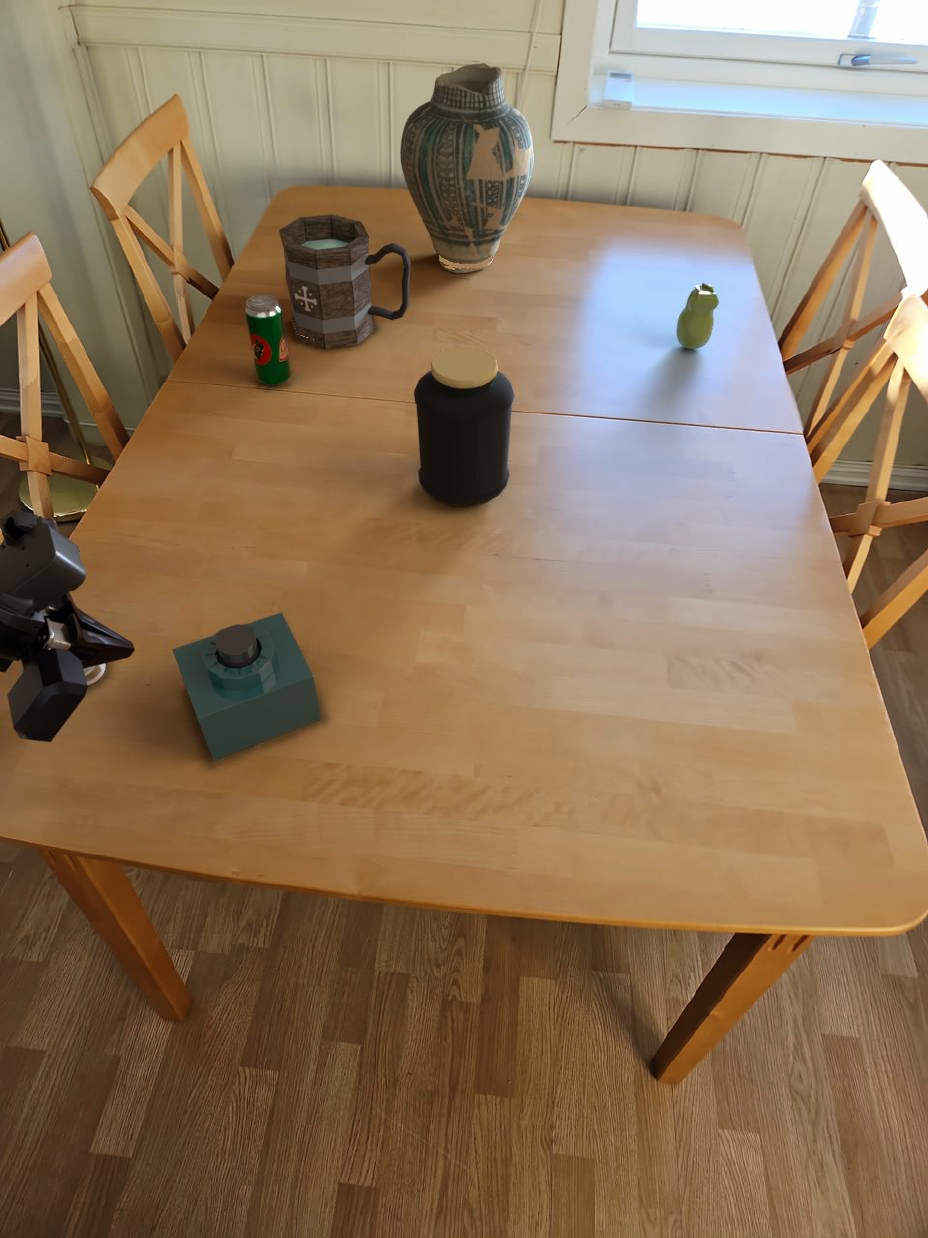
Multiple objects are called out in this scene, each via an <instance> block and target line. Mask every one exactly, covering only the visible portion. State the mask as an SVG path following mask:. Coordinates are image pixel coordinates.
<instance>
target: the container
mask: <svg viewBox="0 0 928 1238" xmlns="http://www.w3.org/2000/svg"><path fill="white" fill-rule="evenodd" d="M498 368H499V365H498V362H497V358H495V356H494V355H493V354H492V353H491V352H489V351H487V350H485V349H483V348H480V347H475V346H468V345H465V346H463V345H462V346H453V347H449V348H445V349H443V350H441V351H439V352H438V353H436V354H435V355H434V356H433V357H432V359H431V362H430V370H429V371H427V372H426V373H425V374H424V375H422V376H421V377H420V378H419V380H418V381H417V383H416V386H415V388H414V391H413V396H414V403H415V405H416V419H417V434H418V448H419V464H420V465H419V466H420V467H419V470H418V481H419V484H420V485H421V487H422V488H423V490H424V491H425V493H426V494H428V495H429V496H430V497H432V498H433V499H434V500H435V501H437V502H441V503H443V504H445V505H448V506H454V507H461V508H462V507H475V506H479V505H482V504H486V503H488V502H490V501H492V500H493V499H495V498H496V497H498V496H500V495H501V493H502V492H503V491H504V489H506V487H507V486H508V483H509V478H510V472H509V466H508V465H509V455H510V454H509V453H510V441H511V440H510V438H511V425H512V414H513V413H512V412H513V411H512V410H513V403H514V399H515V392H514V388H513V384H512V382H511V381H510V380H509V378H508V377H506V375H504V373H502V372H500V371H499V370H498Z"/></svg>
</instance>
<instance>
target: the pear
mask: <svg viewBox="0 0 928 1238" xmlns="http://www.w3.org/2000/svg"><path fill="white" fill-rule="evenodd" d="M719 304H720V300H719V298H718V294H717V293H716V291H715V288H714V286H712V285H711V284H709V283H705V282H702V283H701V285H695V287H694V289H692V291H691V292H690V294H689V295H688V296H687V299H686V303H685V307H684V308H683V309H682V310H681V312H680V313H679V316H678V319H677V321H676V331H675V332H676V339H677V341H678V343H679V344H680V345H681V346H682V347H683V348H686V349H689V350H698V349H700V348H702V347H704V346H705V345H706V344H707V343H708V342H709V340H710V339H711V336H712V333H713V330H714V323H715V319H714V311H715V309H717V308H718V306H719Z"/></svg>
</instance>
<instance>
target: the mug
mask: <svg viewBox="0 0 928 1238" xmlns="http://www.w3.org/2000/svg"><path fill="white" fill-rule="evenodd" d="M278 232H279V236H280V240H281V244H282V248H283V256H284V265H285V266H284V267H285V281H286V286H287V290H288V296H289V302H290V307H291V326H292V329H293V333H294V334H295V338H296V341H298V342H300V343H303V344H307V345H310V346H313V347H316V348H319V349H323V350H330V349H338V348H344V347H351V346H358V345H359V344H360V343H362V341H364V340H365V339H366V338H367V337H369V336H370V335H371V334H372V333H373V332H374V331H375V326H374V320H373V316H375V317H379V318H383V319H386V320H389V321H395V320H399V319H402V318H403V317H404V315H405V313H406V312H407V309H408V307H409V305H410V277H411V267H412V264H411V261H410V257H409V254H408V252H407V248H406V247H403V246H401V245H399V244H397V243H395V242H392V243H389V244H385V245H383V246H382V247H381V248H380V249H379V250H378V251H377V252H376V253H374V254H369V247H370V235H369V233H368V231H367V230H366V227H365V226H364V223H363V222H362V221H360V220H358V219H354V218H353V219H352V218H350V217H349V218H348V217H345V216H341V215H337V214H333V213H332V214H331V213H329V214H321V215H320V214H319V215H310V216H303V217H298V218H296V219H295V220H293V221H291V222H290V223H288V224H287V225H285V226H283V227H282V228H281V229H279V230H278ZM392 253H394V254H396V255H398V256H400V257H401V260H402V265H403V268H402V269H403V270H402V277H401V304H400V307H399V309H396V310H394V311H393V310H390V309H388V308H386V307H382V306H378V305H374V304H372V291H373V290H372V289H373V283H372V277H371V271H370V265H376V264H377V263H379V262H380V261H382V260H383V258H384V257H385V256H386V255H389V254H392ZM292 320H293V321H292ZM293 323H294V324H293ZM371 325H372V326H371ZM294 326H295V327H294ZM370 326H371V327H370ZM369 327H370V328H369ZM295 328H296V329H295ZM296 331H297V332H296ZM297 334H299V335H297ZM300 335H303V336H305V337H303V336H300ZM306 337H308V338H306ZM313 339H314V340H313Z"/></svg>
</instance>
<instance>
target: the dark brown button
mask: <svg viewBox="0 0 928 1238" xmlns="http://www.w3.org/2000/svg"><path fill="white" fill-rule="evenodd" d="M224 628H225V629H224ZM224 628H223V629H224V630H222V631H221V632H220V633H219V634H218V636H217V638H216V647H217V650H218V653H219V656H220V660H221V661H222V663H223V664H224V665H226V666H228V667H230V668H242V667H245V666H248V665H250V664H251V663H253V662H254V661H255V660H256V658H257V656H258V654H259V648H258V644H257V640H256V636H255V633H254V631H253V630H252V629H251V628H249V627H247V626H244V625H236V624H233V625H230V626H227V627H224Z"/></svg>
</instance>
